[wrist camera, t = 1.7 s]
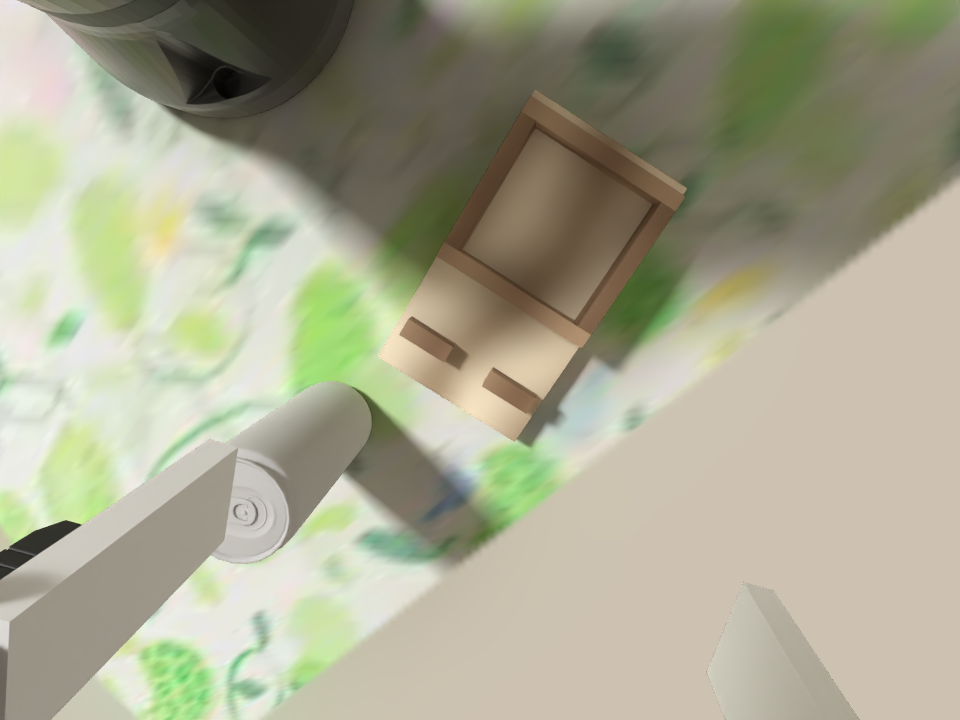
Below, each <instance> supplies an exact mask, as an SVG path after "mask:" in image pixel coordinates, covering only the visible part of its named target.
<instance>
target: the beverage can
mask: <svg viewBox="0 0 960 720" xmlns="http://www.w3.org/2000/svg"><path fill="white" fill-rule="evenodd" d="M371 428H372V419H371V413H370V410H369V407H368V405H367V403H366V401H365V400H364V398H363V397H362V396H361V395H360V394H359V393H358V392H357V391H356V390H355V389H354V388H352V387H350V386H348V385H346V384H344V383H340V382H336V381H326V382H321V383H317V384H314V385H312V386H310V387H308V388H306V389H305V390H303V391H302V392H300V393H299V394H297V395H296V396H294V397H293V398H292V399H290V400H289V401H287V402H286V403H284V404H283V405H281V406H280V407H278V408H277V409H276V410H274V411H273V412H271V413H270V414H268V415H267V416H265V417H264V418H262V419H261V420H259V421H258V422H256V423H255V424H253V425H252V426H250V427H249V428H247V429H246V430H244V431H243V432H241V433H240V434H238V435H237V436H235V437H234V438H232V439H231V440H229V441H228V442H226V443H225V444H229V445H233V446H236V447H238V453H237V460H236V466H235V473H234V480H233V486H232V493H231V499H230V506H229V513H228V519H227V526H226V533H225V539H224V541H223V542H222V543H221V545H220V546H219V547H218V548H217V549H216V550H215V551H214V552H213V553H212V554H211V555H212V556H213V557H215V558H217V559H219V560H223V561H226V562H230V563H239V564H248V563H253V562H257V561H261V560H263V559H265V558H267V557H268V556H270V555H272V554H273V553H274V552H275V551H276V550H278V549H280V548H282V547H283V546H284V545H285V544H286V543H287V542H288V541H289V540H290V539H291V538H292V537H293V536H294V534H295V533H296V532H297V531H298V529H299V528H300V527H301V526H302V524H303V523H304V522H305V520H306V519H307V518H308V517H309V515H310V514H311V513H312V512H313V510H314V509H315V508H316V506H317V505H318V504H319V503H320V501H321V500H322V499H323V498H324V496H325V495H326V494H327V492H328V491H329V490H330V489H331V487H332V486H333V485H334V484H335V482H336V481H337V480H338V478H339V477H340V476H341V475H342V473H343V472H344V471H345V470H346V468H347V467H348V466H349V464H350V463H351V462H352V461H353V459H354V458H355V457H356V456H357V454H358V453H359V452H360V450H361V449H362V448H363V447H364V445H365V444H366V442H367V440H368V438H369V436H370V432H371Z"/></svg>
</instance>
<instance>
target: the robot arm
mask: <svg viewBox="0 0 960 720" xmlns="http://www.w3.org/2000/svg"><path fill="white" fill-rule="evenodd" d="M18 1H20V2H22V3H25V4H28V5H30V6H32V7H34V8H36V9H39V10H41V11H43V12H45V13H46V14H47V15H48V16H49V17H50V18H51V19H52V20H53V21H54V22H55V23H57V24H58V25H59V26H60V27H61V28H62V29H63V30H64V31H65V32H66V33H67V34H68V35H69V36H70V37H71V38H72V39H73V40H74V41H75V42H76V43H77V44H78V45H79V46H80V47H81V48H82V49H83V50H84V51H85V52H86V53H87V54H89V55H90V56H91V57H92V58H93V59H94V60H95V61H96V62H97V63H98V64H99V65H100V66H101V67H102V68H103V69H104V70H105V71H107V72H108V73H109V74H110V75H112V76H113V77H114V78H115V79H117V80H118V81H120V82H121V83H123V84H124V85H126V86H127V87H129V88H130V89H132V90H134V91H135V92H137V93H139V94H141V95H143V96H145V97H147V98H149V99H151V100H153V101H156V102H158V103H161V104H164V105H167V106H169V107H172V108H175V109H178V110H181V111H184V112H187V113H190V114H194V115H199V116H204V117H211V118H236V117H244V116H249V115H254V114H257V113H261V112H264V111H266V110H269V109H271V108H274V107H276V106H278V105H280V104H282V103H283V102H285V101H287V100H289V99H290V98H292V97H293V96H294V95H296V94H297V93H299V92H300V91H301V90H302V89H303V88H305V87H306V86H307V85H308V84H309V83H310V82H311V81H312V80H313V79H314V78H315V77H316V76H317V75H318V73H319V72H320V71H321V70H322V69H323V67H324V66H325V65H326V63H327V62H328V61H329V59H330V57H331V56H332V54H333V53H334V51H335V49H336V47H337V46H338V44H339V42H340V40H341V37H342V35H343V33H344V31H345V28H346V25H347V23H348V20H349V16H350V13H351V10H352V5H353V1H354V0H18ZM237 453H238V447H236V446H233V445H229V444H225V443H222V442H218V441H214V440H210V439H209V440H208V441H206V442H205V443H203V444H202V445H200V446H199V447H198V448H196V449H195V450H193V451H192V452H190V453H189V454H187V455H186V456H184V457H183V458H181V459H180V460H178V461H177V462H175V463H174V464H172V465H171V466H169V467H168V468H166V469H165V470H163V471H162V472H160V473H159V474H157V475H156V476H154V477H153V478H151V479H150V480H148V481H147V482H145V483H144V484H142V485H141V486H139V487H138V488H136V489H135V490H133V491H132V492H130V493H129V494H127V495H126V496H125V497H123V498H122V499H120V500H119V501H117V502H116V503H114V504H113V505H111V506H110V507H108V508H107V509H105V510H104V511H102V512H101V513H99V514H98V515H96V516H95V517H93V518H92V519H90V520H89V521H87V522H86V523H84V524H83V525H81V524H77V523H74V522H70V521H66V520H65V521H62V522H59V523H56V524H53V525H50V526H48V527H45V528H42V529H39V530H36V531H34V532H32V533H30V534H29V535H27V536H26V537H24V538H22V539H21V540H19V541H18V542H16V543H14V544H13V545H11V546H10V548H9V549H8V550H6V549H5V550H3V551H1V552H0V720H51V719H52V718H53V717H54V716H55V715H56V714H57V713H58V712H59V711H60V710H61V709H62V708H63V707H64V706H65V705H66V704H67V702H69V701H70V699H71V698H72V697H73V696H74V695H75V694H76V693H77V692H78V691H79V690H80V689H81V688H82V687H83V686H84V685H85V684H86V683H87V682H88V681H89V680H90V679H91V678H92V677H93V676H94V675H95V674H96V673H97V672H98V671H99V670H100V669H101V668H102V666H103V665H104V664H105V663H106V662H107V661H108V660H109V659H110V658H111V657H112V656H113V655H114V654H115V653H116V652H117V651H118V650H119V649H120V648H121V647H122V646H123V645H124V644H125V643H126V642H127V641H128V640H129V639H130V638H131V637H132V635H133V634H134V633H135V632H136V631H137V630H138V629H139V628H140V627H141V626H142V625H143V624H144V623H145V622H146V621H147V620H148V619H149V618H150V617H151V616H152V615H153V614H154V613H155V612H156V611H157V610H158V609H159V608H160V607H161V606H162V604H163V603H164V602H165V601H166V600H167V599H168V598H169V597H170V596H171V595H172V594H173V593H174V592H175V591H176V590H177V589H178V588H179V587H180V586H181V585H182V584H183V583H184V582H185V581H186V580H187V579H188V578H189V577H190V576H191V574H192V573H193V572H194V571H195V570H196V569H197V568H198V567H199V566H200V565H201V564H202V563H203V562H204V561H205V560H206V559H207V558H208V557H209V556H210V555H211V554H212V553H213V552H214V551H215V550H216V549H217V548H218V547H219V546H220V545H221V543H222V542H223V541H224V539H225V533H226V526H227V519H228V513H229V506H230V499H231V493H232V486H233V480H234V473H235V466H236V460H237ZM706 672H707V675H708V677H709V680H710V682H711V685H712V687H713V690H714V693H715V695H716V698H717V700H718V703H719V705H720V708H721V711H722V713H723V716H724V718H725V720H859V719H858V717H857V716H856V714H855V713H854V711H853V709H852V708H851V706H850V705H849V703H848V702H847V701H846V699H845V697H844V696H843V694H842V693H841V691H840V690H839V689H838V687H837V686H836V684H835V682H834V681H833V679H832V678H831V676H830V675H829V673H828V672H827V670H826V669H825V667H824V666H823V664H822V663H821V661H820V660H819V658H818V657H817V655H816V654H815V652H814V651H813V649H812V648H811V646H810V645H809V643H808V642H807V640H806V638H805V637H804V635H803V634H802V633H801V631H800V629H799V628H798V626H797V625H796V624H795V622H794V620H793V619H792V617H791V616H790V614H789V613H788V611H787V610H786V608H785V607H784V605H783V604H782V602H781V601H780V599H779V598H778V596H777V595H776V593H775V592H774V590H770V589H767V588H763V587H759V586H756V585H752V584H748V583H743V585H742V587H741V589H740V592H739V594H738V596H737V599H736V602H735V604H734V606H733V609H732V611H731V613H730V616H729V618H728V621H727V623H726V626H725V628H724V630H723V633H722V635H721V638H720V640H719V642H718V645H717V647H716V650H715V652H714V655H713V657H712V659H711V662H710V664H709V667H708V669H707V671H706Z"/></svg>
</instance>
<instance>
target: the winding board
mask: <svg viewBox="0 0 960 720" xmlns="http://www.w3.org/2000/svg"><path fill="white" fill-rule="evenodd" d="M686 190H687V188H686V187H684V186H683V185H681V184H680V183H678V182H677V181H675V180H674V179H672V178H670V177H669V176H667V175H666V174H664V173H663V172H661V171H660V170H658V169H657V168H655V167H654V166H652V165H650V164H649V163H647V162H646V161H644V160H643V159H641V158H640V157H638V156H637V155H635V154H634V153H632V152H631V151H629V150H627V149H626V148H624V147H623V146H621V145H620V144H618V143H617V142H615V141H614V140H612V139H611V138H609V137H607V136H606V135H604V134H603V133H601V132H600V131H598V130H597V129H595V128H594V127H592V126H591V125H589V124H588V123H586V122H584V121H583V120H581V119H580V118H578V117H577V116H575V115H574V114H572V113H571V112H569V111H568V110H566V109H565V108H563V107H561V106H560V105H558V104H557V103H555V102H554V101H552V100H551V99H549V98H548V97H546V96H545V95H543V94H541V93H540V92H538V91H537V90H534V92H533V94H532V95H530V97H529V99H528V101H527V102H526V104H525V106H524V107H523V109H522V111H521V112H520V114H519V116H518V118H517V119H516V121H515V123H514V124H513V126H512V128H511V129H510V131H509V133H508V135H507V136H506V138H505V140H504V141H503V143H502V145H501V146H500V148H499V150H498V152H497V153H496V155H495V157H494V158H493V160H492V162H491V163H490V165H489V167H488V169H487V170H486V172H485V174H484V175H483V177H482V179H481V180H480V182H479V184H478V186H477V187H476V189H475V191H474V192H473V194H472V196H471V197H470V199H469V201H468V203H467V204H466V206H465V208H464V209H463V211H462V213H461V214H460V216H459V218H458V220H457V221H456V223H455V225H454V226H453V228H452V230H451V231H450V233H449V235H448V237H447V238H446V240H445V242H444V243H443V245H442V247H441V248H440V250H439V252H438V254H437V255H436V256H437V257H436V258H435V260H434V262H433V263H432V265H431V267H430V269H429V270H428V272H427V274H426V275H425V277H424V279H423V280H422V282H421V284H420V286H419V287H418V289H417V291H416V292H415V294H414V296H413V297H412V299H411V301H410V302H409V304H408V306H407V308H406V309H405V311H404V313H403V314H402V316H401V318H400V319H399V321H398V323H397V325H396V326H395V328H394V330H393V331H392V333H391V335H390V336H389V338H388V340H387V342H386V343H385V345H384V347H383V348H382V350H381V352H380V353H379V355H378V357H379V358H380V359H382V360H384V361H385V362H387V363H388V364H390V365H392V366H393V367H395V368H396V369H398V370H400V371H401V372H403V373H405V374H406V375H408V376H409V377H411V378H413V379H414V380H416V381H417V382H419V383H421V384H422V385H424V386H426V387H427V388H429V389H430V390H432V391H434V392H435V393H437V394H438V395H440V396H442V397H443V398H445V399H446V400H448V401H450V402H451V403H453V404H455V405H456V406H458V407H459V408H461V409H463V410H464V411H466V412H467V413H469V414H471V415H472V416H474V417H475V418H477V419H479V420H480V421H482V422H484V423H485V424H487V425H488V426H490V427H492V428H493V429H495V430H496V431H498V432H500V433H501V434H503V435H504V436H506V437H508V438H509V439H511V440H513V441H514V442H515V440H516V439H517V437H518V436H519V434H520V433H521V432H522V430H523V429H524V427H525V426H526V424H527V423H528V421H529V420H530V418H531V417H532V415H533V414H534V413H535V411H536V410H537V408H538V407H539V405H540V404H541V402H542V401H543V399H544V398H545V396H546V395H547V393H548V392H549V391H550V389H551V388H552V386H553V385H554V383H555V382H556V380H557V379H558V377H559V376H560V374H561V373H562V371H563V370H564V369H565V367H566V366H567V364H568V363H569V361H570V360H571V358H572V357H573V355H574V354H575V352H576V351H577V350H578V348H579V347H581V348H583V346H584V345H585V343H586V342H587V340H588V339H589V337H590V336H591V334H592V333H593V331H594V330H595V329H596V327H597V326H598V324H599V323H600V321H601V320H602V318H603V317H604V315H605V314H606V312H607V311H608V310H609V308H610V307H611V305H612V304H613V302H614V301H615V299H616V298H617V296H618V295H619V294H620V292H621V291H622V289H623V288H624V286H625V285H626V283H627V282H628V280H629V279H630V277H631V276H632V275H633V273H634V272H635V270H636V269H637V267H638V266H639V264H640V263H641V261H642V260H643V258H644V257H645V256H646V254H647V253H648V251H649V250H650V248H651V247H652V245H653V244H654V242H655V241H656V239H657V238H658V237H659V235H660V234H661V232H662V231H663V229H664V228H665V226H666V225H667V223H668V222H669V220H670V219H671V218H672V216H673V215H674V213H675V212H676V210H677V209H678V207H679V206H680V204H681V203H682V201H683V200H684V199H685V197H686V196H685V195H683V194H684V193H685V191H686Z"/></svg>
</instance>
